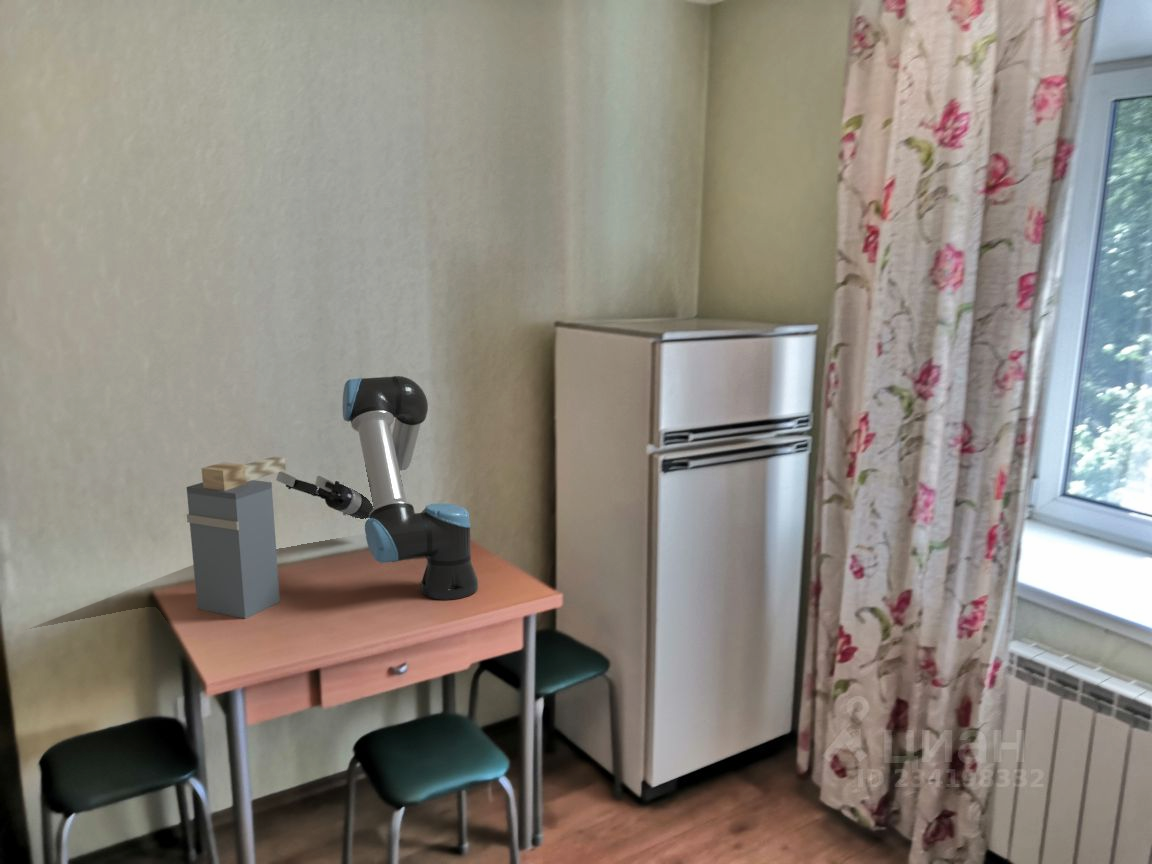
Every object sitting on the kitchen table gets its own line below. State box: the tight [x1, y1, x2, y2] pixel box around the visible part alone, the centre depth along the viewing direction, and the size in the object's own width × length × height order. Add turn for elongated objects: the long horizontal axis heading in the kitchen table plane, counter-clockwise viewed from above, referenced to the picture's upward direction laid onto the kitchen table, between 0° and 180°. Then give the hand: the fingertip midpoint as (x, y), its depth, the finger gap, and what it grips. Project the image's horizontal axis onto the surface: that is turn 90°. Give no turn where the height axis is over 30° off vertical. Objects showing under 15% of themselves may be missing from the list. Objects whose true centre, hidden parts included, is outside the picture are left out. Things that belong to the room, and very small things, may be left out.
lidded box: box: [186, 479, 281, 620], centre depth 217 cm, size 16×12×32 cm
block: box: [201, 455, 287, 491], centre depth 219 cm, size 23×7×5 cm, turn 156°
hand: (297, 478), depth 236 cm, fingers open, 13 cm apart
